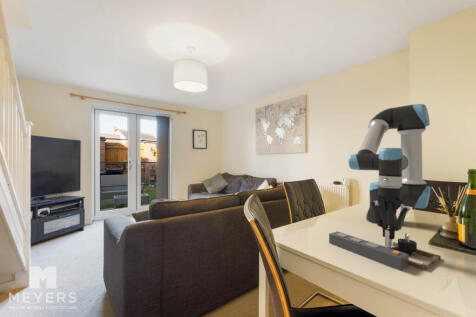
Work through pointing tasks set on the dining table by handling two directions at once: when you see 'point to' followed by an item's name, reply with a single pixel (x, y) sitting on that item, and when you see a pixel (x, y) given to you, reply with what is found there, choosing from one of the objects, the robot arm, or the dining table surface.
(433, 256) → the bay
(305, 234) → the dining table surface
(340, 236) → the power strip
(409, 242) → the power plug
